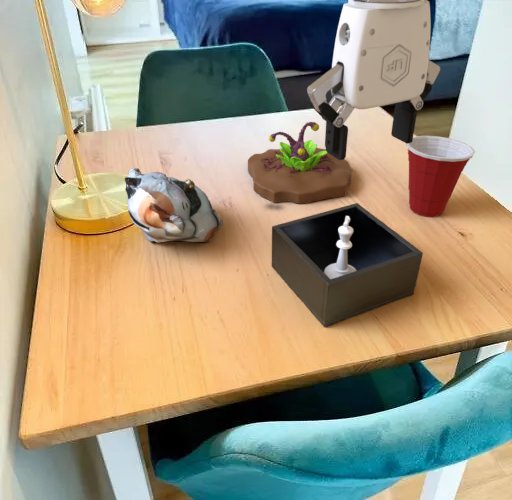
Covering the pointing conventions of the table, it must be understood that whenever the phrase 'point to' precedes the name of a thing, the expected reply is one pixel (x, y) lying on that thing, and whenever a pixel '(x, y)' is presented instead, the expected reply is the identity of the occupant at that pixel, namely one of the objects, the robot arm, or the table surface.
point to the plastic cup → (434, 172)
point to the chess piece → (342, 253)
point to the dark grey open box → (359, 256)
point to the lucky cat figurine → (170, 208)
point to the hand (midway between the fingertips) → (369, 147)
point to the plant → (298, 171)
